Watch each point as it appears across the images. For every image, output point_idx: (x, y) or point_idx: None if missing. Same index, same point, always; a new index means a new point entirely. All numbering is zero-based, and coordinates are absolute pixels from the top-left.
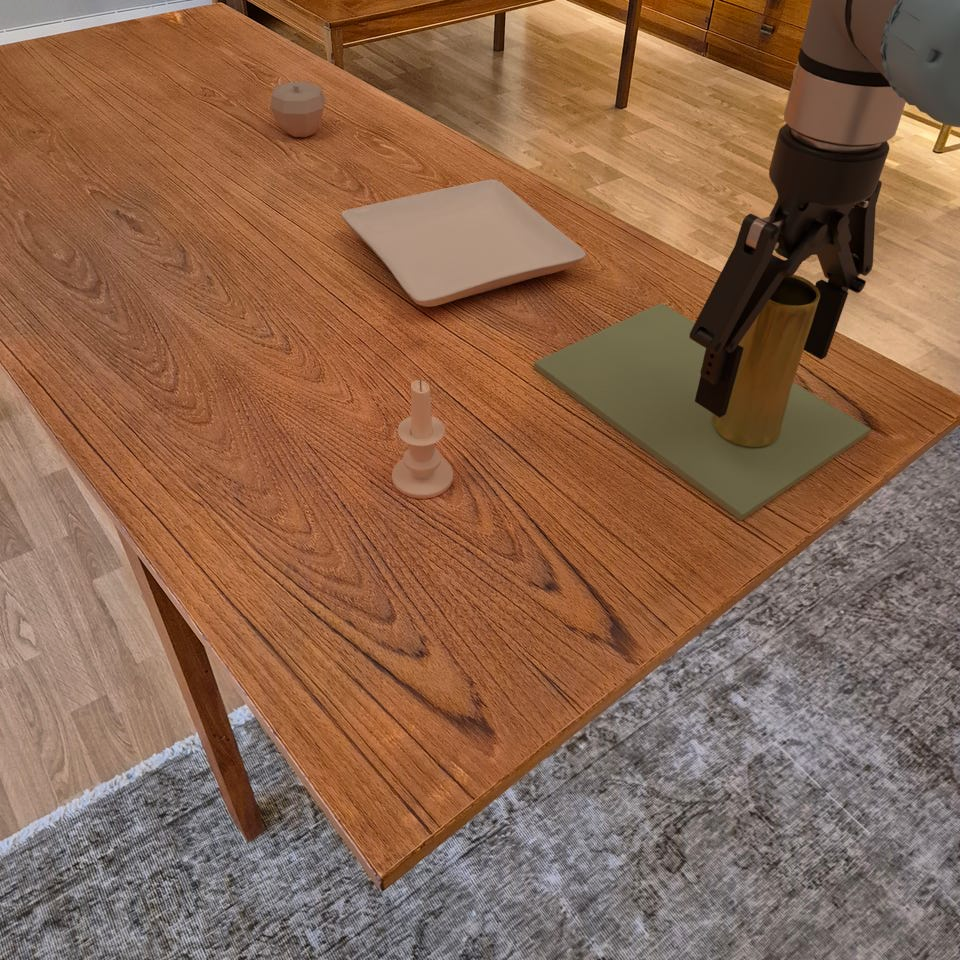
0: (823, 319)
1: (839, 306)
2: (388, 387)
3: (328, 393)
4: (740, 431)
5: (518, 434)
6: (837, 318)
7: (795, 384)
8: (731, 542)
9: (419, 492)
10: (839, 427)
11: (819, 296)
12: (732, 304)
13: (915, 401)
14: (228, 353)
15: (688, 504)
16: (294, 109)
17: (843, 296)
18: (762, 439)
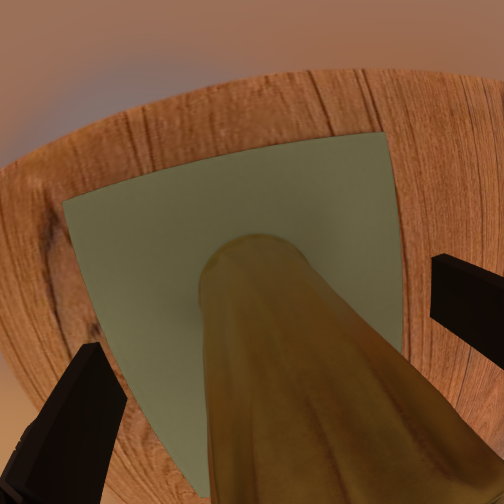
0: (80, 432)
1: (38, 453)
2: (469, 418)
3: (489, 412)
4: (310, 266)
5: (458, 358)
6: (46, 418)
7: (110, 342)
8: (404, 115)
9: None
10: (104, 224)
11: None
12: None
13: None
14: (487, 442)
15: (412, 193)
16: None
17: (23, 481)
18: (274, 240)
